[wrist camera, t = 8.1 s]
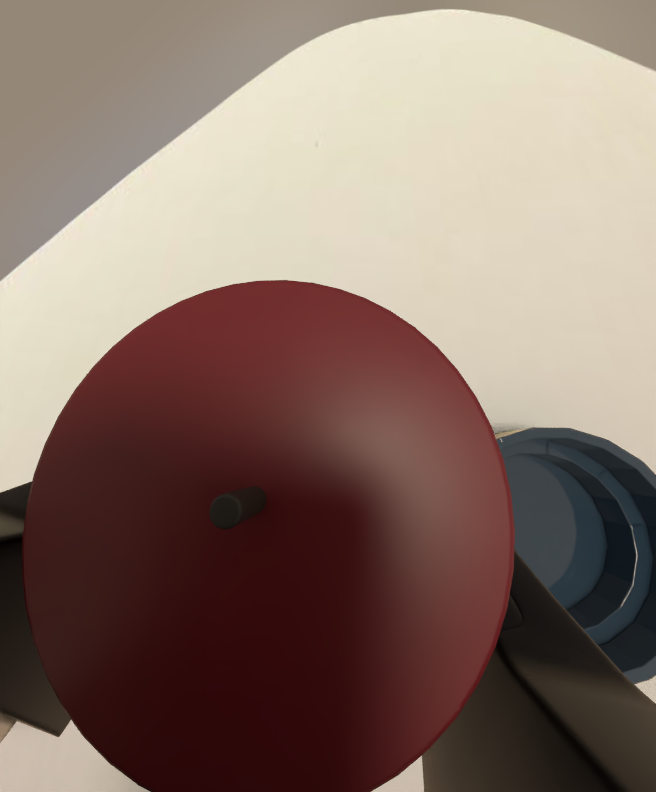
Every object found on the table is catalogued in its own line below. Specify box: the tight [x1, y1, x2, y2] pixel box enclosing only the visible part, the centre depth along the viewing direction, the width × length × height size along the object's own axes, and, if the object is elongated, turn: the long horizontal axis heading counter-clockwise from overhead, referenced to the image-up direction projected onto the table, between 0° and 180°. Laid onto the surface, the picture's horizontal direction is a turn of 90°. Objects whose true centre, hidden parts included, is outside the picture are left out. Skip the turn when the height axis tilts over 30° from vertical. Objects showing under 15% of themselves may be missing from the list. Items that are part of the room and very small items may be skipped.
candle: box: [22, 280, 515, 792], centre depth 9 cm, size 6×6×13 cm
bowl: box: [495, 428, 656, 684], centre depth 18 cm, size 13×13×4 cm
